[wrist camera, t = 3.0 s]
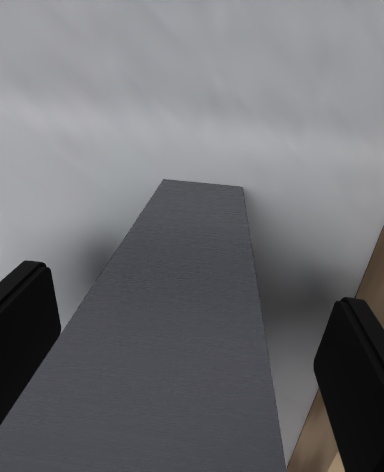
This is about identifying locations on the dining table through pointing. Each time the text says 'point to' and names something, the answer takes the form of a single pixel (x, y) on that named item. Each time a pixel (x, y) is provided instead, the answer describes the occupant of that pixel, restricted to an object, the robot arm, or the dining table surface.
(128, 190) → the dining table surface
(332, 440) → the wooden slotted base
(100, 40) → the dining table surface
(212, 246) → the tall grey upright slab
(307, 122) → the dining table surface
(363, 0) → the dining table surface
